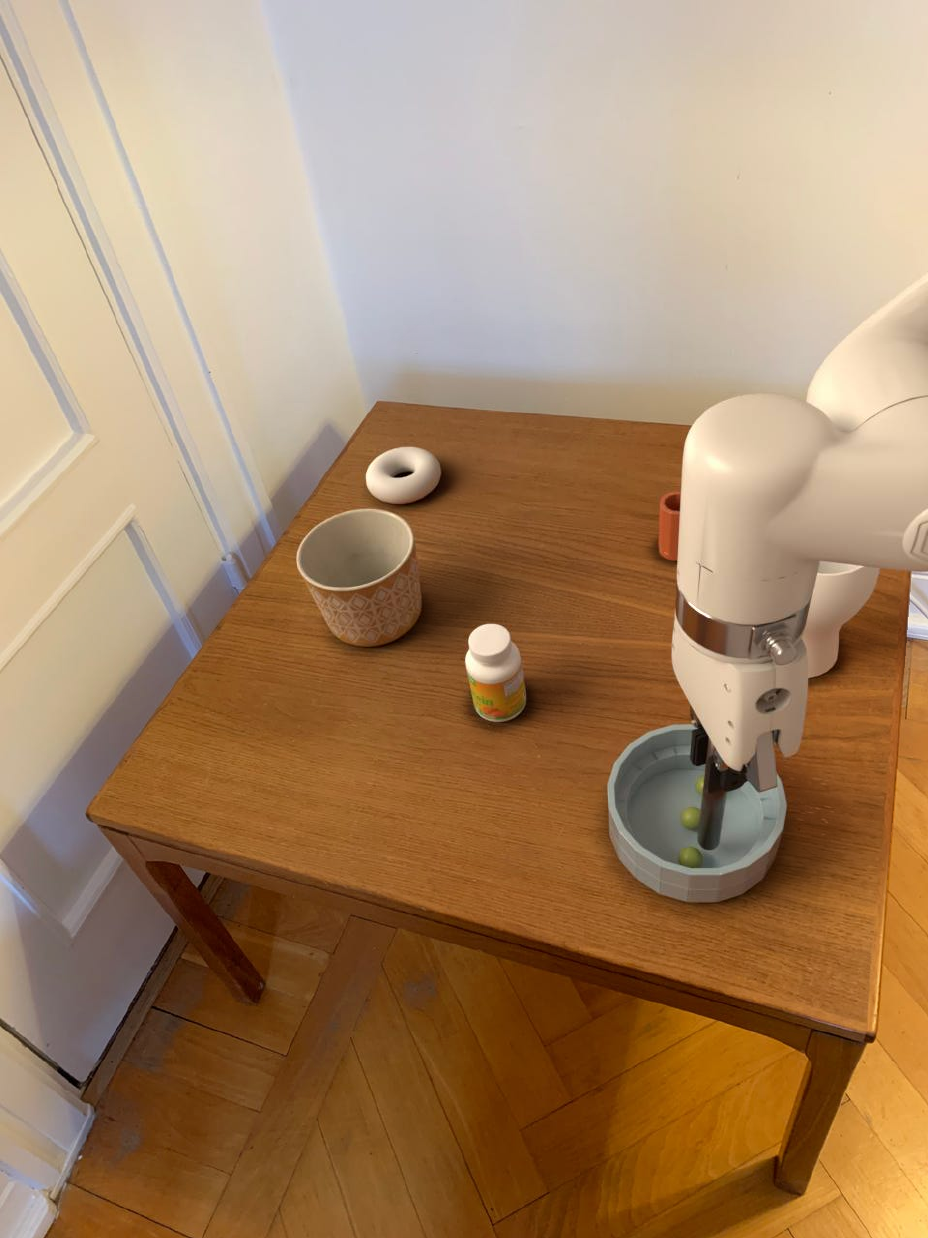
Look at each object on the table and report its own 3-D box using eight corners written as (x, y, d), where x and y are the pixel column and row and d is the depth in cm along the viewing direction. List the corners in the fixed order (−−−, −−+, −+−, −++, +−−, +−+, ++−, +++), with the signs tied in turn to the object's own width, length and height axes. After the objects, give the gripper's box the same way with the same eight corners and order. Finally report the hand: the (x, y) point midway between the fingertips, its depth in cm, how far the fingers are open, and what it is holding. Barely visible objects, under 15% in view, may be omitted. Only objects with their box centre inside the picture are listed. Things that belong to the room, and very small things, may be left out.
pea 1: (697, 811, 75) (699, 799, 74) (707, 830, 74) (709, 819, 72) (676, 817, 75) (677, 806, 73) (685, 837, 74) (686, 825, 72)
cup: (739, 684, 84) (755, 576, 73) (742, 606, 91) (757, 496, 80) (856, 696, 81) (891, 584, 71) (850, 614, 88) (881, 501, 77)
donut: (457, 475, 114) (400, 453, 118) (454, 454, 111) (396, 432, 116) (410, 519, 109) (353, 494, 114) (405, 498, 106) (347, 474, 111)
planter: (446, 584, 100) (431, 515, 92) (405, 666, 92) (385, 598, 84) (349, 568, 104) (328, 501, 96) (302, 645, 96) (275, 579, 89)
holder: (684, 534, 100) (687, 487, 95) (698, 555, 97) (702, 508, 92) (653, 543, 99) (654, 496, 94) (666, 564, 97) (668, 517, 92)
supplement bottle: (463, 705, 87) (448, 642, 80) (499, 672, 90) (488, 609, 82) (501, 733, 84) (489, 670, 77) (537, 699, 87) (529, 635, 79)
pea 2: (689, 843, 73) (709, 851, 71) (685, 866, 72) (704, 874, 71) (675, 843, 71) (695, 850, 70) (670, 866, 71) (690, 874, 70)
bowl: (730, 741, 80) (736, 705, 76) (809, 876, 70) (820, 844, 66) (586, 784, 79) (584, 750, 75) (646, 927, 69) (647, 897, 65)
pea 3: (711, 779, 77) (713, 767, 75) (721, 798, 76) (723, 786, 74) (690, 786, 77) (692, 774, 75) (700, 804, 75) (702, 792, 74)
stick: (713, 832, 72) (729, 713, 60) (722, 850, 71) (741, 733, 59) (693, 838, 72) (705, 721, 60) (702, 857, 71) (717, 741, 59)
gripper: (878, 680, 45) (822, 848, 58) (738, 503, 56) (718, 679, 69) (744, 720, 45) (718, 881, 58) (629, 534, 55) (630, 705, 69)
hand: (718, 770), depth 64 cm, fingers closed on stick, 1 cm apart
